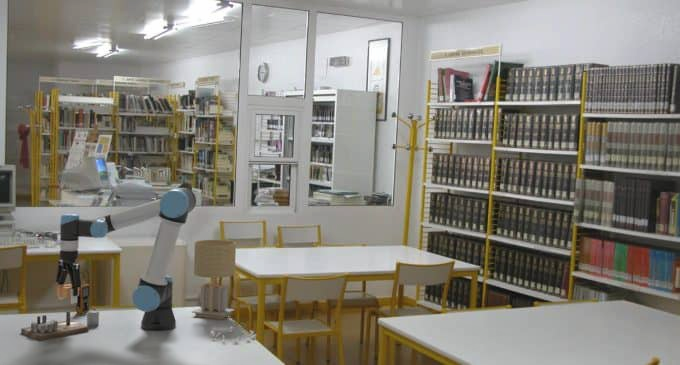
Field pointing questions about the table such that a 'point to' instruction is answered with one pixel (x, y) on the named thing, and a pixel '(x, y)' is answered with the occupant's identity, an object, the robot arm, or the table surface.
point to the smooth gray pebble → (92, 318)
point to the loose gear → (65, 291)
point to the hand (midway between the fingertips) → (67, 301)
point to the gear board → (55, 333)
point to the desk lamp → (214, 275)
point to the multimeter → (83, 297)
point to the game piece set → (233, 339)
